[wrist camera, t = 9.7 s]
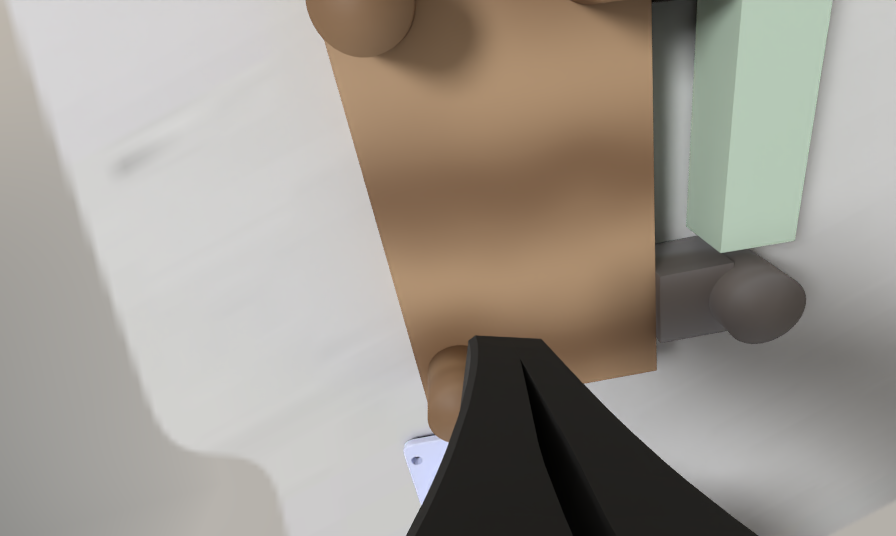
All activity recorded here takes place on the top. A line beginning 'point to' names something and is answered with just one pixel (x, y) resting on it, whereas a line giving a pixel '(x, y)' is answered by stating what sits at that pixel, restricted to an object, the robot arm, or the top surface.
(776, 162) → the pale green bar
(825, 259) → the top surface
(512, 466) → the robot arm
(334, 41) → the stool seat
